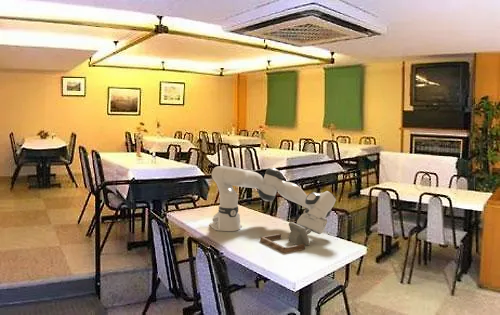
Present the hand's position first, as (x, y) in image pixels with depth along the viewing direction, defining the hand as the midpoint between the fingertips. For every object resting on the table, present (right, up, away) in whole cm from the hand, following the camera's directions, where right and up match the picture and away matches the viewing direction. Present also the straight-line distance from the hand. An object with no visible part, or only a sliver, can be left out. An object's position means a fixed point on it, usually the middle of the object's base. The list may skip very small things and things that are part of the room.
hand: (303, 235), depth 255 cm
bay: (-12, -5, -5) cm, 14 cm away
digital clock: (-3, -4, +1) cm, 5 cm away
